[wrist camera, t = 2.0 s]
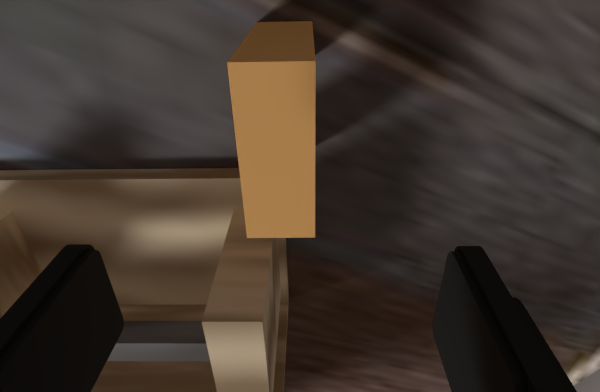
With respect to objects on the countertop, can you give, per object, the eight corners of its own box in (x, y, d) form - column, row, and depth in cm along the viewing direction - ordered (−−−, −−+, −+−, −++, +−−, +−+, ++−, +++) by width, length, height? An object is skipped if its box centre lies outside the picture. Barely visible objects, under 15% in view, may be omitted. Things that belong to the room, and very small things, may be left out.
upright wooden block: (257, 22, 23) (227, 62, 14) (312, 21, 23) (315, 61, 14) (265, 148, 27) (246, 238, 18) (312, 147, 27) (315, 237, 18)
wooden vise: (-37, 170, 28) (-220, 285, 18) (282, 167, 28) (269, 284, 18) (32, 298, 35) (-75, 432, 25) (288, 298, 34) (281, 435, 25)
